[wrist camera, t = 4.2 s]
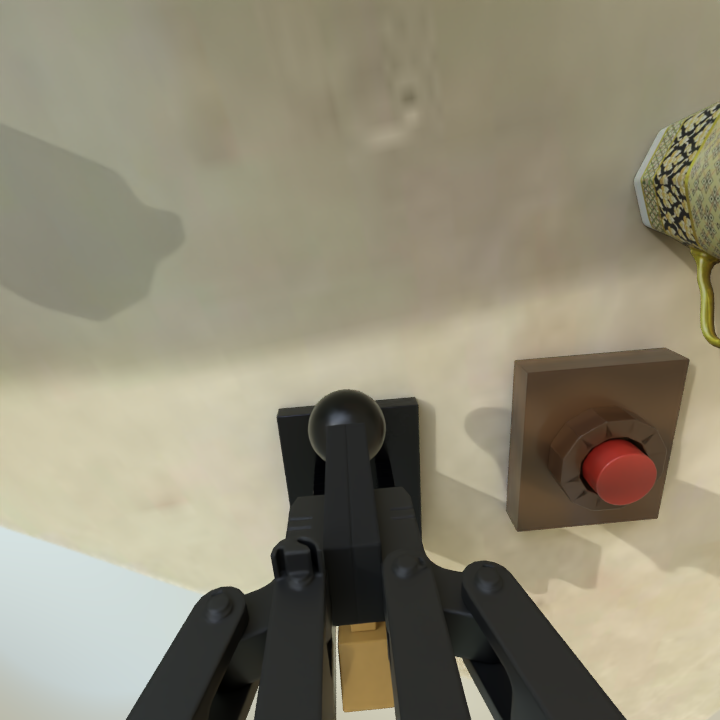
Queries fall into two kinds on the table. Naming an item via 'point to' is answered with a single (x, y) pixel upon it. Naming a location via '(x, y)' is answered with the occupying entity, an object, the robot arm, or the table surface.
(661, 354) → the button block
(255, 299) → the table surface
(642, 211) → the ceramic cup
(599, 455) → the button
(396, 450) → the switch bracket
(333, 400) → the switch lever
